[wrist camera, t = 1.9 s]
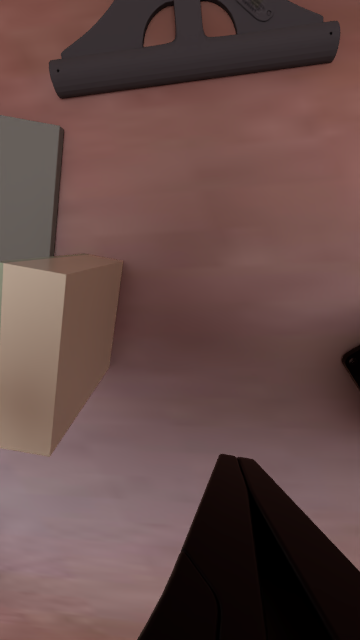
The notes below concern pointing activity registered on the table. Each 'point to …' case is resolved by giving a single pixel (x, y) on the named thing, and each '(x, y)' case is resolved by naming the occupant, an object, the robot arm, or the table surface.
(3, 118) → the mat
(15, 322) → the tile
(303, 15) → the bracket
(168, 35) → the table surface
